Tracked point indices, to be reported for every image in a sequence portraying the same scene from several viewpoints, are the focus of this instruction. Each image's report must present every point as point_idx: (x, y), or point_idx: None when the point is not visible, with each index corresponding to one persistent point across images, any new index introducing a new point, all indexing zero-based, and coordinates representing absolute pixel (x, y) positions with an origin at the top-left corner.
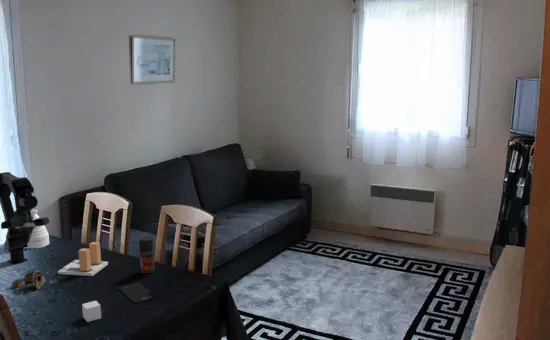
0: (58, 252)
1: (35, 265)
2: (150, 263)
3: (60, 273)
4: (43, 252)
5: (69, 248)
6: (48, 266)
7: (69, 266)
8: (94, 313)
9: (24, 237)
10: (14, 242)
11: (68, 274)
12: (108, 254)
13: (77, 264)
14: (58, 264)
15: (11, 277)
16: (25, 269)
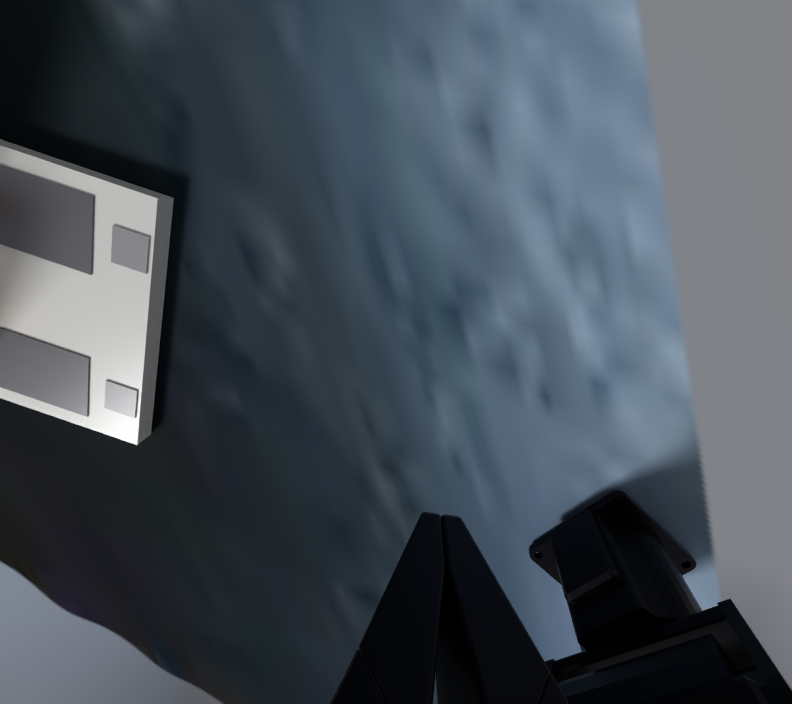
0: (346, 632)
1: (436, 433)
2: None
3: (148, 190)
4: None
5: (299, 675)
6: (322, 391)
7: (111, 305)
8: None
9: (495, 613)
10: (704, 693)
11: (78, 166)
12: (6, 526)
13: (70, 340)
14: (260, 417)
15: (587, 165)
16: (497, 359)
